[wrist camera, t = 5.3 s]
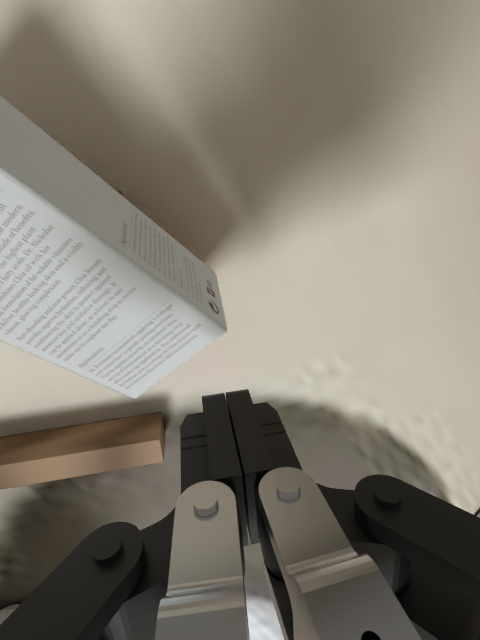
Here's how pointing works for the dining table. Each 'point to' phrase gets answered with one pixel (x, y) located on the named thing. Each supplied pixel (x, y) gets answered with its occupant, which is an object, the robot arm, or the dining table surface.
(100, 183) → the skincare box
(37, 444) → the brown wooden frame
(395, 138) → the dining table surface
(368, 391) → the dining table surface
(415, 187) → the dining table surface
